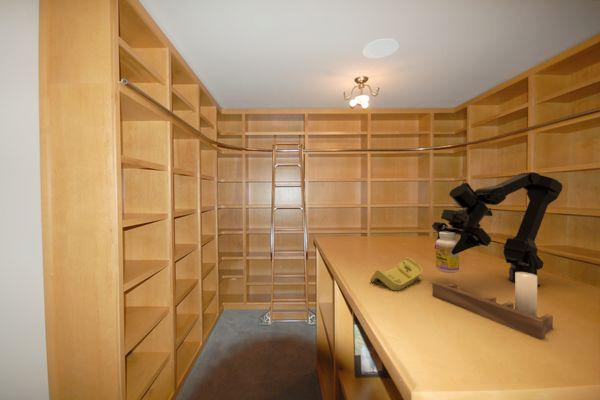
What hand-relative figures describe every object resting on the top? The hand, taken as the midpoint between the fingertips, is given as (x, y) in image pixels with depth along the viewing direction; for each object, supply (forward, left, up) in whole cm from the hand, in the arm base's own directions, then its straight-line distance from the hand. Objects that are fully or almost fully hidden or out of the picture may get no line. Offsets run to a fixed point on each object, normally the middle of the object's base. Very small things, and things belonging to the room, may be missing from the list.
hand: (443, 251), depth 79 cm
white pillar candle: (-14, +16, -13) cm, 25 cm away
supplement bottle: (-1, -1, -7) cm, 7 cm away
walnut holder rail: (-7, +12, -13) cm, 19 cm away
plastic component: (+14, -4, -14) cm, 20 cm away
